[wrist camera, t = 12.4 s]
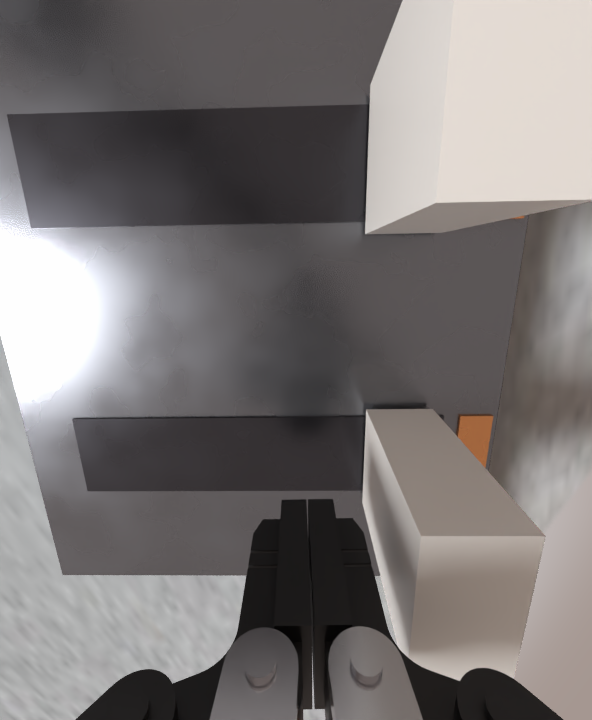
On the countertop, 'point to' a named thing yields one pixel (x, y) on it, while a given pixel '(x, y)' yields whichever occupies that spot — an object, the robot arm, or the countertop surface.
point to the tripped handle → (446, 546)
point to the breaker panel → (219, 274)
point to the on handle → (480, 114)
